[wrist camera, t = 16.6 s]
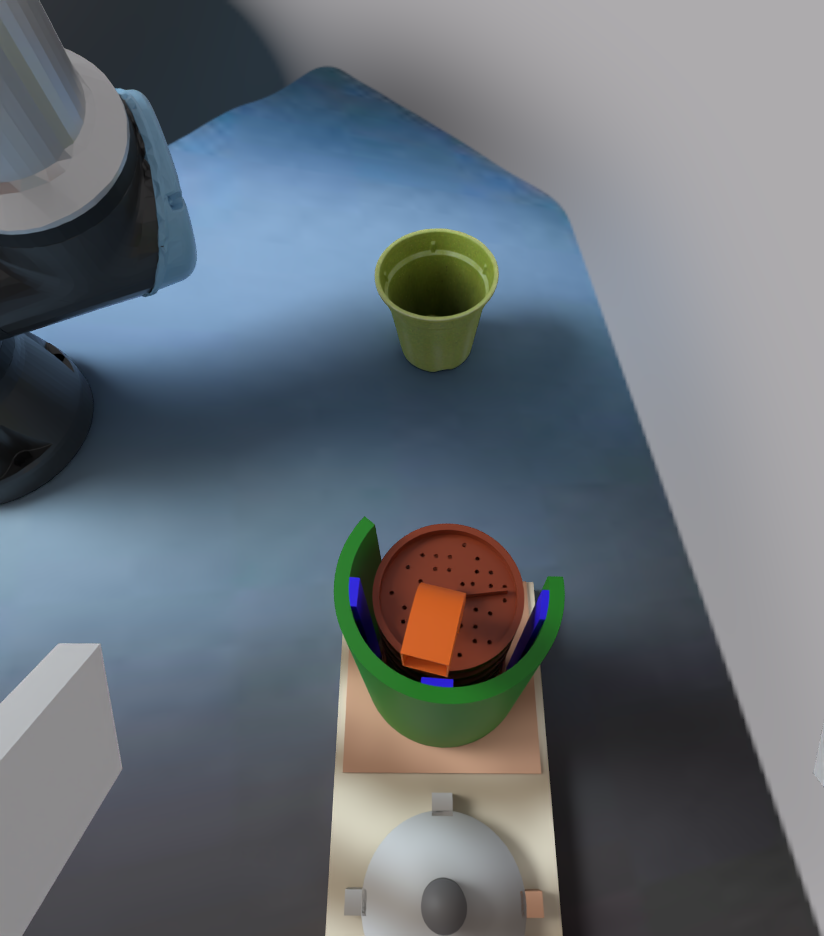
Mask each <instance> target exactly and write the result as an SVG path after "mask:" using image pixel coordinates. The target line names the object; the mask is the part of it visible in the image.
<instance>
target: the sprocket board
mask: <svg viewBox="0 0 824 936" xmlns="http://www.w3.org/2000/svg"><path fill="white" fill-rule="evenodd" d="M523 587H524V610H523V615H522V619H521V622H520V625H519V627H518V629H517V632H516V634H515V636H514V639H513V641H512V643H511V646H510V648H509V650H508V653H507V655H506V662H505V671H504V672H506V668H507V665H508V663H509V661H510V659H511V656H512V654H513V652H514V650H515V647H516V645H517V643H518V641H519V639H520V636H521V634H522V632H523V630H524V628H525V626H526V623H527V621H528V619H529V617H530V615H531V612H532V610H533V608H534V606H535V598H534V586H533V582H523ZM382 647H383V644H382V640H381V638H380V641H379V648H380V652H381V655H382ZM326 936H563V935H562V923H561V911H560V899H559V887H558V875H557V863H556V851H555V839H554V827H553V814H552V802H551V790H550V778H549V766H548V754H547V742H546V730H545V718H544V706H543V694H542V682H541V670H540V665H539V667H538V668H537V670H536V672H535V673H534V675H533V676H532V678H531V679H530V681H529V682H528V684H527V685H526V687H525V688H524V690H523V692H522V693H521V695H520V696H519V698H518V699H517V701H516V702H515V704H514V705H513V707H512V708H511V710H510V712H509V713H508V714H507V716H506V717H505V719H504V720H503V721H502V722H501V723H500V724H499V725H498V726H497V727H496V728H495V729H494V730H493V731H491V732H490V733H489V734H487V735H486V736H484V737H483V738H481V739H479V740H477V741H475V742H472V743H469V744H466V745H462V746H458V747H449V748H440V747H432V746H427V745H423V744H420V743H417V742H414V741H412V740H410V739H408V738H406V737H405V736H403V735H401V734H400V733H398V732H397V731H396V730H395V729H393V728H392V727H391V726H390V725H389V724H388V723H387V722H386V721H385V720H384V718H383V717H382V716H381V714H380V713H379V712H378V710H377V708H376V707H375V705H374V703H373V701H372V699H371V696H370V694H369V692H368V690H367V687H366V685H365V683H364V681H363V678H362V676H361V674H360V672H359V669H358V667H357V665H356V663H355V660H354V658H353V656H352V654H351V651H350V649H349V647H348V645H347V642H346V640H345V638H344V636H343V637H342V655H341V673H340V690H339V708H338V725H337V743H336V761H335V778H334V796H333V813H332V831H331V849H330V866H329V884H328V902H327V919H326Z"/></svg>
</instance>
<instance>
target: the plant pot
mask: <svg viewBox="0 0 824 936" xmlns="http://www.w3.org/2000/svg"><path fill="white" fill-rule="evenodd" d="M498 275H499V272H498V265H497V262H496V260H495V257H494V256H493V254H492V253H491V252H490V250H489V249H488V248H487V247H486V246H485V245H484V244H483V243H482V242H480V241H479V240H477V239H476V238H474V237H472V236H469V235H467V234H465V233H462V232H459V231H454V230H449V229H425V230H420V231H416V232H413V233H409V234H407V235H405V236H403V237H401V238H399V239H398V240H396V241H395V242H393V243H392V244H391V245H390V246H389V247H388V248H387V249H386V250H385V251H384V252H383V253H382V255H381V256H380V258H379V260H378V262H377V265H376V269H375V284H376V288H377V291H378V293H379V295H380V297H381V298H382V300H383V301H384V302H385V304H386V305H387V306H388V307H389V309H390V310H391V313H392V316H393V319H394V323H395V326H396V329H397V333H398V337H399V341H400V344H401V347H402V351H403V353H404V355H405V357H406V358H407V360H408V361H409V362H410V363H411V364H413V365H414V366H416V367H418V368H420V369H422V370H426V371H431V372H436V371H439V370H444V369H453V368H455V367H457V366H459V365H460V364H461V363H463V362H464V361H465V360H466V358H467V357H468V356H469V354H470V351H471V348H472V344H473V341H474V337H475V334H476V330H477V326H478V323H479V319H480V316H481V312H482V309H483V308H484V306H485V304H486V303H487V302H488V301H489V300H490V298H491V297H492V295H493V293H494V292H495V289H496V286H497V283H498Z"/></svg>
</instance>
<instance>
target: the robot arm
mask: <svg viewBox="0 0 824 936" xmlns="http://www.w3.org/2000/svg"><path fill="white" fill-rule="evenodd" d="M196 261H197V251H196V244H195V238H194V234H193V229H192V225H191V221H190V217H189V214H188V210H187V206H186V204H185V201H184V199H183V198H182V191H181V188H180V184H179V179H178V175H177V172H176V169H175V166H174V163H173V160H172V157H171V154H170V151H169V148H168V146H167V143H166V141H165V137H164V135H163V132H162V129H161V127H160V124H159V122H158V120H157V117H156V115H155V113H154V110H153V109H152V106H151V105H150V103H149V101H148V99H147V98H146V97H145V96H144V95H143V94H142V93H140V92H138V91H136V90H123V89H118V88H114V87H113V85H112V84H111V83H110V81H109V80H108V79H107V78H106V76H105V75H104V74H103V73H102V72H101V71H100V70H99V69H98V68H97V67H96V66H94V65H93V64H92V63H90V62H89V61H87V60H86V59H84V58H83V57H81V56H79V55H77V54H75V53H74V52H71V51H70V50H67V49H64V48H63V46H62V44H61V42H60V40H59V38H58V36H57V34H56V32H55V30H54V28H53V26H52V24H51V22H50V20H49V18H48V16H47V14H46V12H45V10H44V9H43V7H42V5H41V3H40V1H39V0H0V504H2V503H6V502H9V501H12V500H14V499H17V498H19V497H22V496H24V495H26V494H28V493H30V492H32V491H34V490H35V489H37V488H39V487H40V486H42V485H43V484H45V483H46V482H48V481H49V480H50V479H52V478H53V477H54V476H55V475H57V474H58V473H59V472H60V471H61V470H62V469H63V468H64V467H65V466H66V465H67V464H68V463H69V462H70V461H71V459H72V458H73V457H74V456H75V454H76V453H77V451H78V450H79V449H80V447H81V445H82V444H83V442H84V440H85V438H86V436H87V433H88V431H89V428H90V425H91V421H92V416H93V396H92V392H91V389H90V386H89V384H88V382H87V380H86V378H85V377H84V376H83V374H82V373H81V372H80V370H79V369H78V368H77V367H76V365H75V364H74V363H73V362H72V360H71V359H70V358H69V357H68V356H67V355H66V354H64V353H63V352H62V351H61V350H59V349H58V348H57V347H55V346H53V345H52V344H50V343H48V342H46V341H44V340H43V339H41V338H39V337H37V336H36V335H34V334H32V333H30V331H33V330H36V329H39V328H42V327H45V326H48V325H51V324H54V323H58V322H61V321H64V320H67V319H70V318H73V317H76V316H79V315H82V314H85V313H89V312H92V311H95V310H98V309H101V308H104V307H107V306H111V305H114V304H117V303H120V302H124V301H127V300H130V299H133V298H137V297H140V296H143V297H147V296H151V295H154V294H155V293H156V292H157V291H158V290H159V289H162V288H164V287H167V286H169V285H172V284H175V283H177V282H180V281H182V280H184V279H186V278H187V277H188V276H190V274H191V273H192V272H193V270H194V268H195V265H196ZM121 770H122V764H121V758H120V752H119V747H118V741H117V735H116V730H115V724H114V718H113V712H112V707H111V701H110V695H109V690H108V684H107V678H106V672H105V667H104V661H103V655H102V650H101V644H58V645H57V646H56V647H55V648H54V649H53V650H52V651H51V652H50V653H49V654H48V655H47V656H46V657H45V658H44V659H43V660H42V661H41V662H40V663H39V664H38V665H37V666H36V667H35V668H34V669H33V670H32V671H31V672H30V674H29V675H28V676H27V677H26V678H25V679H24V680H23V681H22V682H21V683H20V684H19V685H18V686H17V687H16V688H15V689H14V690H13V691H12V692H11V693H10V694H9V695H8V696H7V697H6V698H5V699H4V700H3V701H2V703H1V704H0V936H22V935H23V933H24V932H25V930H26V928H27V927H28V925H29V923H30V922H31V920H32V918H33V917H34V915H35V913H36V912H37V910H38V908H39V907H40V905H41V903H42V902H43V900H44V898H45V897H46V895H47V893H48V892H49V890H50V888H51V887H52V885H53V883H54V882H55V880H56V878H57V877H58V875H59V873H60V872H61V870H62V868H63V867H64V865H65V863H66V862H67V860H68V858H69V857H70V855H71V853H72V852H73V850H74V848H75V847H76V845H77V843H78V842H79V840H80V838H81V837H82V835H83V833H84V832H85V830H86V828H87V827H88V825H89V823H90V822H91V820H92V818H93V817H94V815H95V813H96V812H97V810H98V808H99V807H100V805H101V803H102V802H103V800H104V798H105V797H106V795H107V793H108V792H109V790H110V788H111V787H112V785H113V783H114V782H115V780H116V778H117V777H118V775H119V773H120V772H121ZM813 773H814V775H815V776H816V778H817V779H818V780H819V781H820V783H821V784H822V785H823V787H824V724H823V728H822V733H821V738H820V743H819V747H818V752H817V757H816V761H815V766H814V771H813Z"/></svg>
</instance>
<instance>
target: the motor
mask: <svg viewBox="0 0 824 936" xmlns="http://www.w3.org/2000/svg"><path fill="white" fill-rule="evenodd" d="M564 599H565V591H564V580H563V577H550V576H548V577H547V580H546V582H545V584H544V586H543V588H542V591H541V593H540V595H539V597H538V599H537V602H536V604H535V606H534V608H533V610H532V612H531V615H530V617H529V619H528V621H527V623H526V626H525V628H524V630H523V632H522V634H521V636H520V639H519V641H518V643H517V645H516V647H515V650H514V652H513V654H512V656H511V659H510V661H509V663H508V665H507V668H506V672H504V671H505V662H506V655H507V653H508V650H509V648H510V646H511V643H512V641H513V639H514V636H515V634H516V632H517V629H518V627H519V625H520V622H521V619H522V615H523V610H524V587H523V582H522V578H521V575H520V572H519V570H518V568H517V566H516V564H515V562H514V560H513V559H512V557H511V556H510V555H509V553H508V552H507V551H506V550H505V549H504V547H502V546H501V545H500V544H499V543H498V542H497V541H496V540H494V539H493V538H492V537H490V536H489V535H487V534H485V533H483V532H481V531H479V530H477V529H474V528H471V527H468V526H464V525H458V524H436V525H430V526H426V527H423V528H420V529H418V530H415V531H413V532H411V533H409V534H408V535H406V536H404V537H403V538H402V539H400V540H399V541H398V542H397V543H396V544H394V545H393V546H392V547H391V549H390V550H389V551H388V552H387V553H386V555H385V556H384V558H383V559H382V561H381V556H380V550H379V545H378V539H377V534H376V528H375V524H373V523H372V522H371V521H370V520H368V519H367V518H366V517H365V516H364V517H363V519H362V520H361V521H360V522H359V523H358V524H357V526H356V527H355V528H354V530H353V531H352V533H351V534H350V536H349V537H348V539H347V541H346V543H345V545H344V547H343V549H342V552H341V554H340V557H339V560H338V564H337V568H336V573H335V580H334V602H335V609H336V615H337V619H338V622H339V625H340V628H341V631H342V633H343V636H344V638H345V640H346V642H347V645H348V647H349V649H350V651H351V654H352V656H353V658H354V660H355V663H356V665H357V667H358V669H359V672H360V674H361V676H362V678H363V681H364V683H365V685H366V687H367V690H368V692H369V694H370V696H371V699H372V701H373V703H374V705H375V707H376V708H377V710H378V712H379V713H380V714H381V716H382V717H383V718H384V720H385V721H386V722H387V723H388V724H389V725H390V726H391V727H392V728H393V729H395V730H396V731H397V732H398V733H400V734H401V735H403V736H405V737H406V738H408V739H410V740H412V741H414V742H417V743H420V744H423V745H427V746H432V747H440V748H449V747H458V746H462V745H466V744H469V743H472V742H475V741H477V740H479V739H481V738H483V737H484V736H486V735H487V734H489V733H490V732H491V731H493V730H494V729H495V728H496V727H497V726H498V725H499V724H500V723H501V722H502V721H503V720H504V719H505V717H506V716H507V714H508V713H509V712H510V710H511V708H512V707H513V705H514V704H515V702H516V701H517V699H518V698H519V696H520V695H521V693H522V692H523V690H524V688H525V687H526V685H527V684H528V682H529V681H530V679H531V678H532V676H533V675H534V673H535V672H536V670H537V668H538V667H539V665H540V664H541V662H542V661H543V659H544V658H545V656H546V655H547V653H548V651H549V650H550V648H551V646H552V644H553V642H554V640H555V638H556V636H557V633H558V631H559V628H560V624H561V620H562V616H563V610H564ZM380 638H381V640H382V644H383V647H382V655H381V652H380V648H379V641H380Z"/></svg>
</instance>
